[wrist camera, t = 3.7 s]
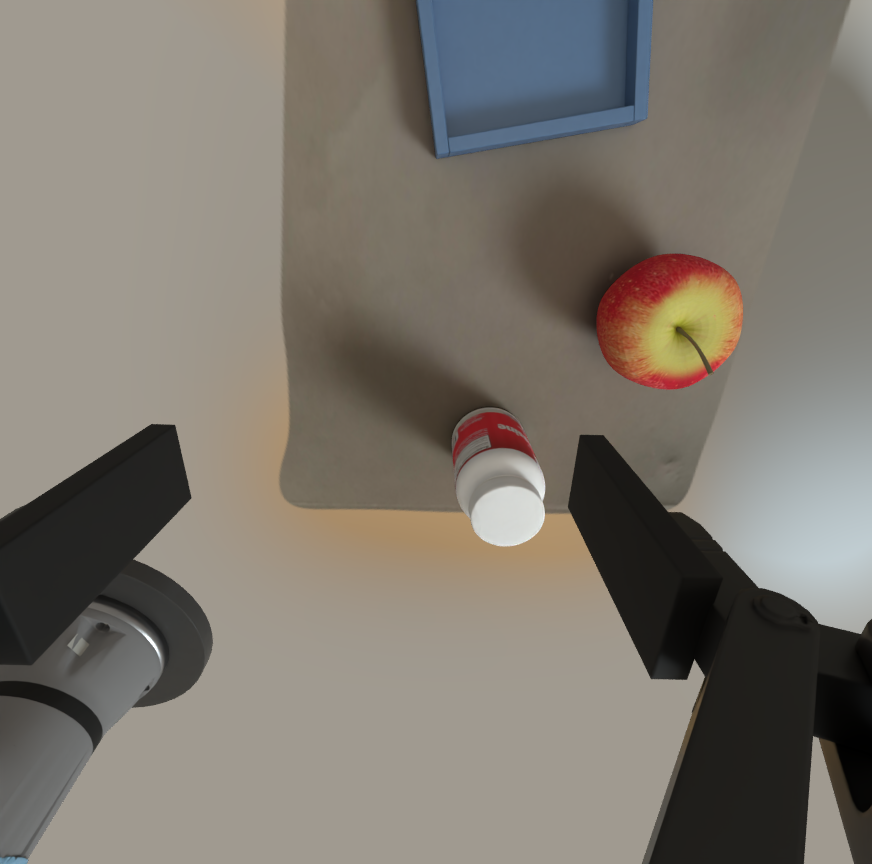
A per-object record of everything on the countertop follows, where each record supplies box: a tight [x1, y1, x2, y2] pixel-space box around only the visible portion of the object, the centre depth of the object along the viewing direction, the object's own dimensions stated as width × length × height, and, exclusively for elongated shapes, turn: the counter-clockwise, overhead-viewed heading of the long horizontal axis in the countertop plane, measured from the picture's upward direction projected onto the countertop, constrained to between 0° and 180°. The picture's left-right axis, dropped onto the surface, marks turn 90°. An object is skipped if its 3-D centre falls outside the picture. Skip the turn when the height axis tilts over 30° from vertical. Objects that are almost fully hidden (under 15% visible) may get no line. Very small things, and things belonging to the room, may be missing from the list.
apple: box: [597, 254, 743, 389], centre depth 29 cm, size 8×8×10 cm
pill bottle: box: [452, 407, 545, 546], centre depth 33 cm, size 6×6×11 cm
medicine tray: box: [416, 0, 653, 159], centre depth 25 cm, size 13×13×2 cm
